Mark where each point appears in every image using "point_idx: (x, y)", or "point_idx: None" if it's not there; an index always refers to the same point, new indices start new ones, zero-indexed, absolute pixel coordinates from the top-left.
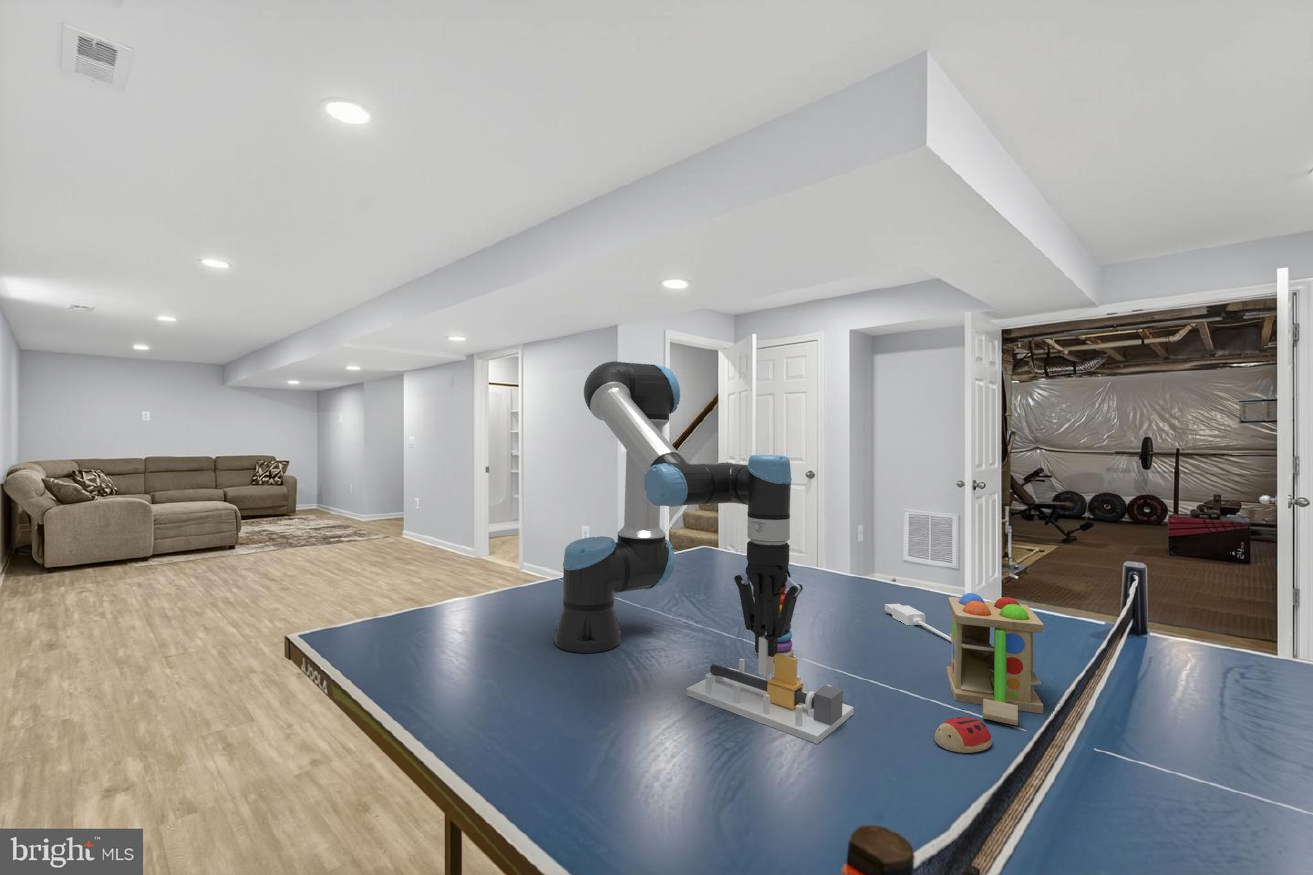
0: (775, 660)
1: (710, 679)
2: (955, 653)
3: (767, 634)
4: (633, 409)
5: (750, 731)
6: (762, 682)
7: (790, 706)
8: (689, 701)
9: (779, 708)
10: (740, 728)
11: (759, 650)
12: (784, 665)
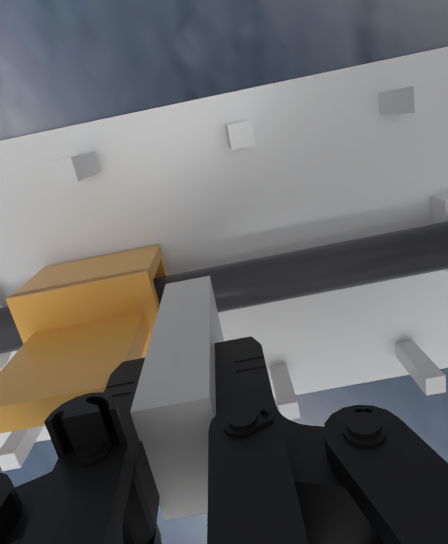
0: (116, 363)
1: (406, 100)
2: None
3: (113, 452)
4: None
5: (54, 26)
6: None
7: (51, 267)
8: (420, 6)
9: (92, 241)
10: (96, 9)
11: (203, 337)
12: (60, 368)
